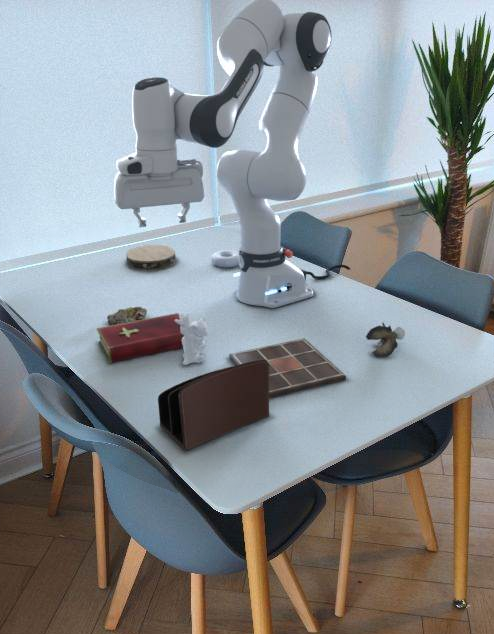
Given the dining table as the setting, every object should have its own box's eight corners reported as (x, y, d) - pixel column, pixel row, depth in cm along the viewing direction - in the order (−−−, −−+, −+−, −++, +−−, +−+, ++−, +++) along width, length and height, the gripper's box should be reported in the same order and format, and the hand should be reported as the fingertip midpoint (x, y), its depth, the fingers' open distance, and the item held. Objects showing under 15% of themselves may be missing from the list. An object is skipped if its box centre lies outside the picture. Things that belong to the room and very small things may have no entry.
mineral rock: (140, 301, 165) (148, 304, 158) (143, 317, 167) (151, 320, 160) (101, 310, 161) (108, 314, 154) (105, 326, 163) (112, 330, 156)
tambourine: (185, 258, 201) (184, 250, 199) (154, 273, 190) (153, 264, 188) (148, 250, 208) (148, 242, 206) (116, 264, 197) (115, 255, 195)
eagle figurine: (372, 333, 152) (357, 340, 144) (391, 313, 147) (377, 320, 140) (392, 355, 150) (379, 364, 143) (412, 336, 146) (400, 344, 139)
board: (304, 342, 150) (304, 337, 149) (345, 380, 135) (346, 375, 134) (229, 358, 143) (229, 353, 142) (264, 399, 128) (264, 394, 127)
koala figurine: (184, 370, 138) (181, 322, 132) (170, 359, 143) (166, 312, 136) (215, 359, 143) (213, 313, 136) (200, 349, 147) (198, 303, 141)
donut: (237, 257, 202) (208, 260, 200) (237, 247, 201) (208, 249, 198) (245, 267, 194) (215, 270, 192) (245, 257, 193) (215, 259, 190)
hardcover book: (195, 346, 148) (194, 330, 146) (110, 364, 141) (107, 348, 139) (179, 326, 158) (178, 312, 155) (98, 342, 150) (96, 327, 148)
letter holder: (270, 417, 122) (270, 355, 115) (185, 452, 113) (179, 388, 105) (242, 395, 129) (241, 336, 122) (159, 427, 119) (152, 365, 112)
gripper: (198, 155, 139) (200, 216, 146) (108, 162, 132) (116, 225, 140) (206, 160, 134) (209, 223, 141) (114, 167, 127) (122, 232, 135)
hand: (162, 224), depth 140 cm, fingers open, 8 cm apart
